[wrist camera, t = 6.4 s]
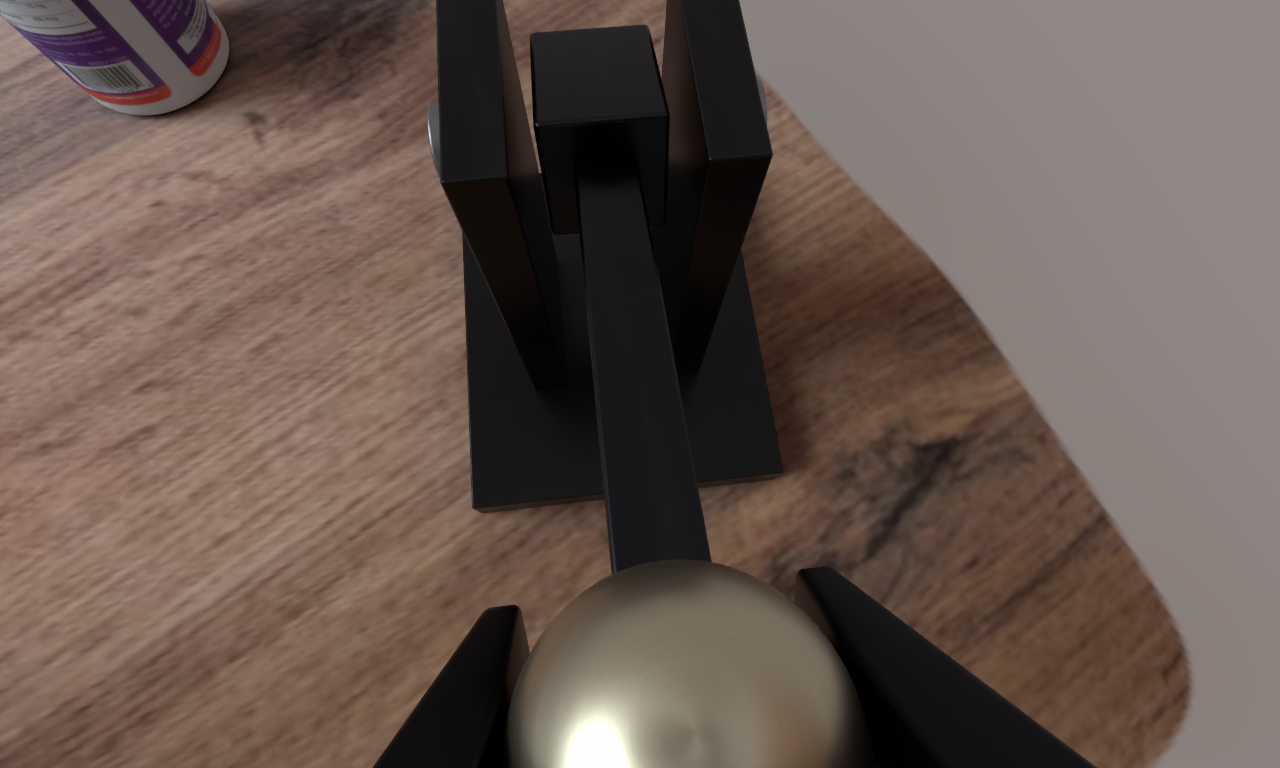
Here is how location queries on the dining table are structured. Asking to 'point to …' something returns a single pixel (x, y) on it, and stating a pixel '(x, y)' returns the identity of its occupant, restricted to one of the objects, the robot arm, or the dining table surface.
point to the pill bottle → (128, 48)
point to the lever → (654, 488)
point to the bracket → (553, 273)
